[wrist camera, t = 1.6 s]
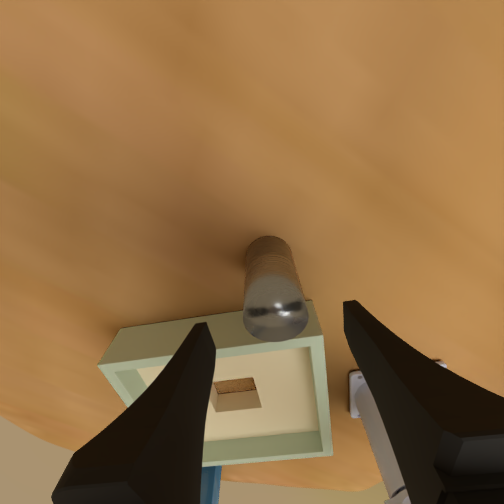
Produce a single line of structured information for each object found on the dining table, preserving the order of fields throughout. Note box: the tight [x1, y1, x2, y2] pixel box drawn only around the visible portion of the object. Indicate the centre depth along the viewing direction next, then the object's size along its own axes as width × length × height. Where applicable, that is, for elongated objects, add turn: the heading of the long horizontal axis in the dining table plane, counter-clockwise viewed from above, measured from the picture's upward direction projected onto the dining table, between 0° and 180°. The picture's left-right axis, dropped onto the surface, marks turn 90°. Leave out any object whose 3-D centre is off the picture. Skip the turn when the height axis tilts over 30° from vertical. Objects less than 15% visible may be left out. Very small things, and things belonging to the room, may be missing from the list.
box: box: [97, 300, 333, 467], centre depth 25 cm, size 18×18×4 cm
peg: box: [243, 236, 309, 342], centre depth 17 cm, size 4×4×7 cm
